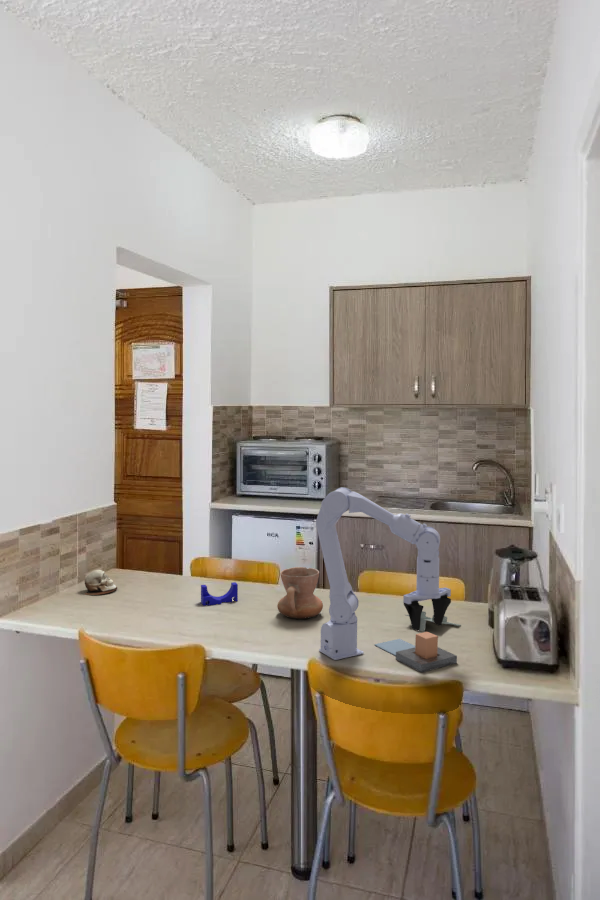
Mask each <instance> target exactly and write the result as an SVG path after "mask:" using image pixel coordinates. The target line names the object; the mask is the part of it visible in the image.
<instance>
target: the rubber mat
mask: <svg viewBox="0 0 600 900" xmlns="http://www.w3.org/2000/svg"><path fill="white" fill-rule="evenodd" d="M374 646H375V647H377V648H379V649H381V650H383V651H385V652H387V653H389V654H390V655H393V656H395V657H396V652H398V651H402V650H406V649H410V648H415V644H412V643H409V642H408V641H406V640H403V639H401V638H397V639H392V640H387V641H383V642H378V643H375V644H374Z"/></svg>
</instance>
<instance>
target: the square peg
mask: <svg viewBox="0 0 600 900" xmlns="http://www.w3.org/2000/svg"><path fill="white" fill-rule="evenodd" d="M414 641H415V643H414V646H415V654H416V655H418V656H420V657H422V658H424V659H427V658H431V657H435V656H437V648H438V647H439V645H438V641H439V636H438V635H436V634H434V633H431V632H429V631H425V632H423V631H422V632H421V633H420V632H419V633H415V640H414Z"/></svg>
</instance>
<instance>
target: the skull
mask: <svg viewBox="0 0 600 900" xmlns="http://www.w3.org/2000/svg"><path fill="white" fill-rule="evenodd" d="M84 585H85V588H86V590H87V591H86V592H84V595H86V596H96V595H97V596H98V595H99V596H100V595H105V594H109V593H112V592H114V591H116V590H118V586H117V585H116V584H114V580H113V579H111V577H109V575H108V574H106V573H105V570H101V569H94V570H92V571H91V572H90V573H88V574H87V575H86V576H85V578H84Z"/></svg>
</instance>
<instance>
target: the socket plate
mask: <svg viewBox="0 0 600 900" xmlns="http://www.w3.org/2000/svg"><path fill="white" fill-rule="evenodd" d="M395 660H396V661H398V662H400V663H402V664H404V665H406V666H408V667H410V668H412V669H414V670H416V671H417V672H420V673H421V674H422V673H426V672H429V671H432V670H433V671H434V670H436V669H441V668H444V667H448V666H451V665H455V664H458V663H457V662H458V655H456V654H454V653H452V652H451V651H450V652H449V651H447V650H445V649H443V648H441V647H439V646H438V648H437V656H435V657H431V658H427V659H424V658H422V657H420V656H418V655H416V654H415V648H410V649H406V650H402V651H398V652H396V656H395Z"/></svg>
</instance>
